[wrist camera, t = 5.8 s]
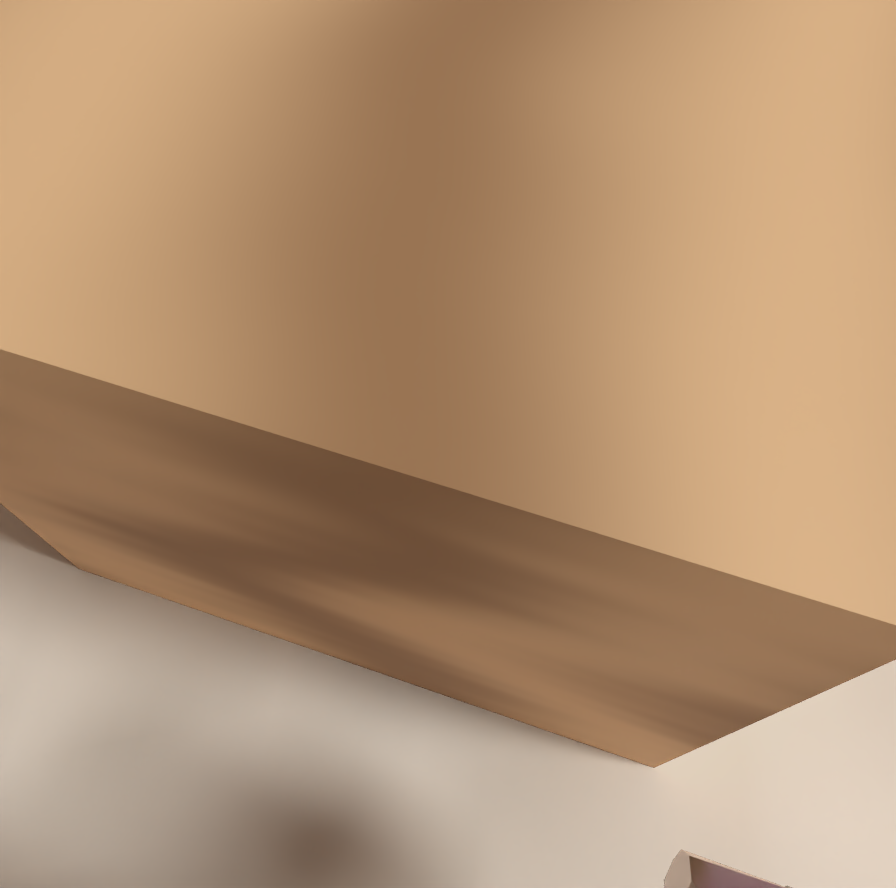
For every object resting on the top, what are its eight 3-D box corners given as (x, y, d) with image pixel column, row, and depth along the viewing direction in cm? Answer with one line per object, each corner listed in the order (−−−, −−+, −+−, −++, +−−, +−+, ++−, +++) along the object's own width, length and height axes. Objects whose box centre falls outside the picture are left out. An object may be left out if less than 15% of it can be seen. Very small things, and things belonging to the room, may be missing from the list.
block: (81, 570, 14) (-293, 258, 7) (309, 174, 18) (230, -265, 11) (652, 768, 12) (941, 639, 5) (746, 287, 17) (971, -131, 10)
